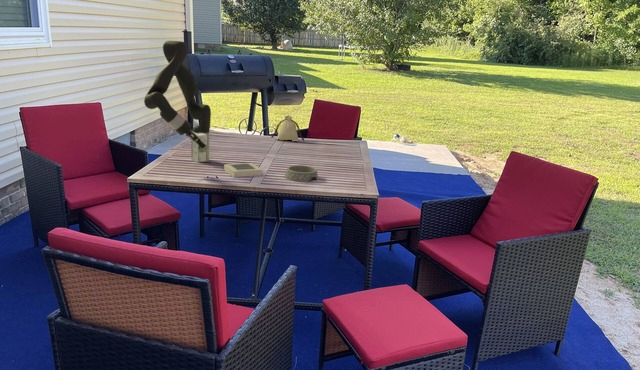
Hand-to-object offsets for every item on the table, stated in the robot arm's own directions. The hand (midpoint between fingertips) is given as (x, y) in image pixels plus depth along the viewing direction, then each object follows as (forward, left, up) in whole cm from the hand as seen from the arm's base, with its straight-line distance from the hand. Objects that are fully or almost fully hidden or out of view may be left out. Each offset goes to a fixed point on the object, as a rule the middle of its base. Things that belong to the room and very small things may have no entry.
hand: (202, 145), depth 255 cm
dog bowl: (+19, +49, -17) cm, 55 cm away
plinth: (0, +23, -16) cm, 28 cm away
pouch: (-77, +86, -16) cm, 117 cm away
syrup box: (0, -2, -8) cm, 9 cm away
